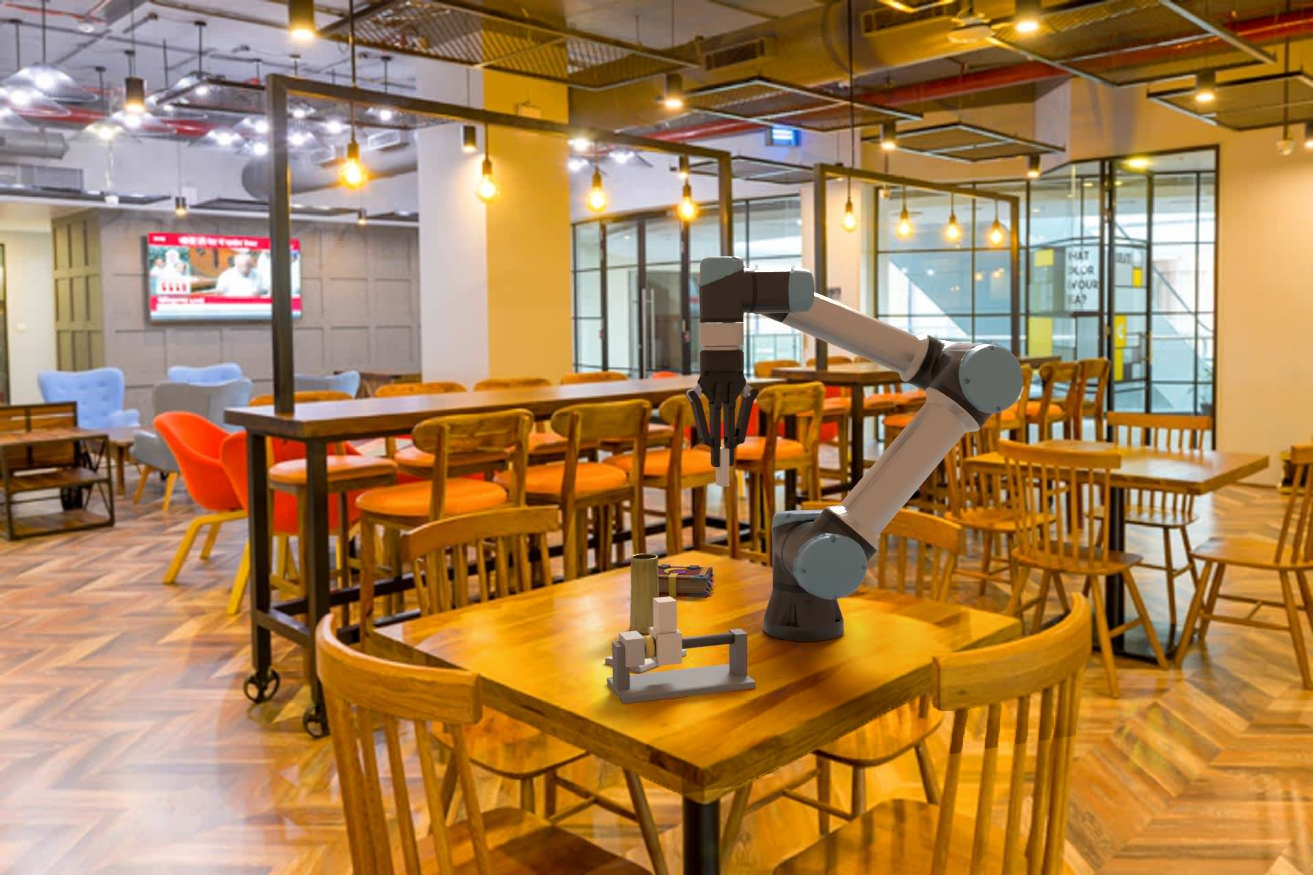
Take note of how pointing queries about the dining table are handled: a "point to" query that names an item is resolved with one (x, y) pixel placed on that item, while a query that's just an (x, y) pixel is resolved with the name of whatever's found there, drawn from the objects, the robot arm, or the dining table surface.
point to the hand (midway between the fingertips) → (722, 485)
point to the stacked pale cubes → (666, 632)
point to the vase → (643, 591)
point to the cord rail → (681, 681)
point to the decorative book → (685, 580)
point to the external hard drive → (648, 665)
